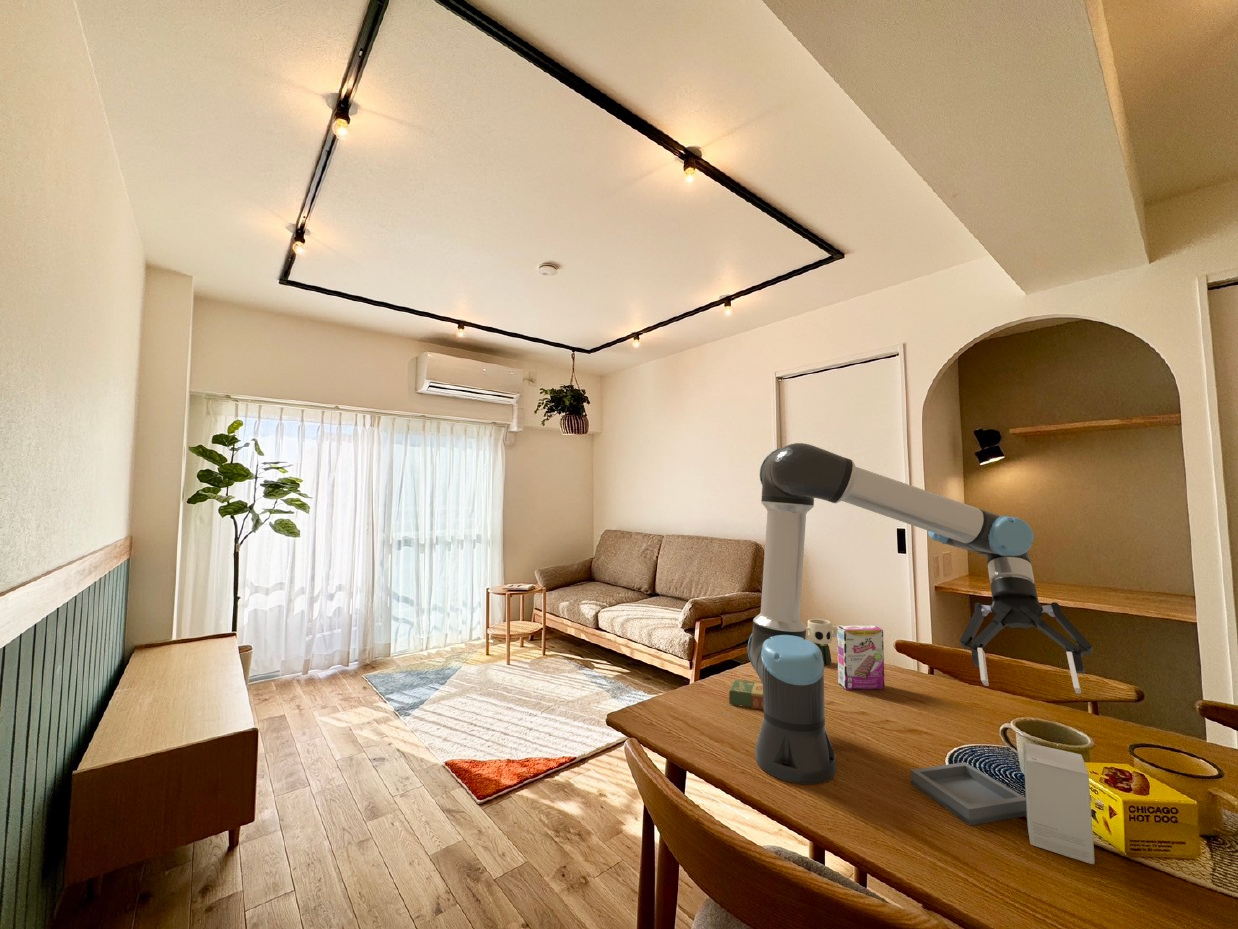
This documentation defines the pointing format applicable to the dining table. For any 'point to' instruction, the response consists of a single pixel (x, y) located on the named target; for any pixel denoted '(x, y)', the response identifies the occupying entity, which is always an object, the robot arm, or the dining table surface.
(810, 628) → the character mug
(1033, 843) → the supplement box
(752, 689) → the carton
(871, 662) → the candy bar box
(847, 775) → the dining table surface
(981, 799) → the holder tray
